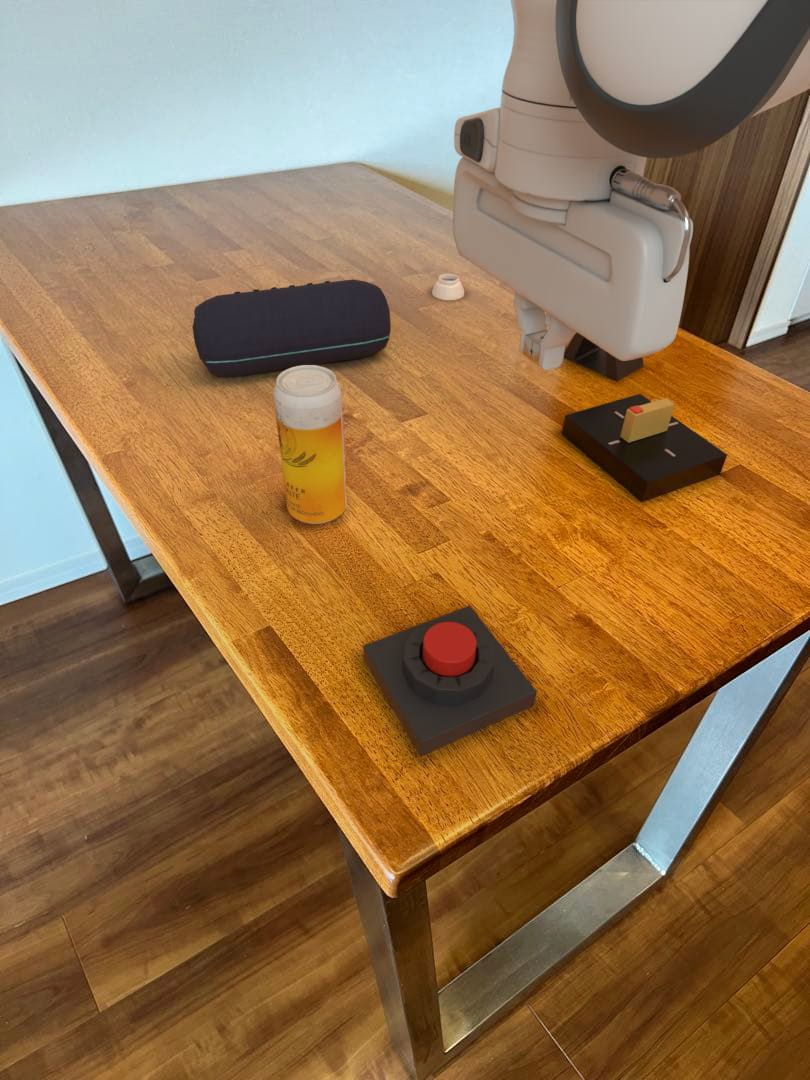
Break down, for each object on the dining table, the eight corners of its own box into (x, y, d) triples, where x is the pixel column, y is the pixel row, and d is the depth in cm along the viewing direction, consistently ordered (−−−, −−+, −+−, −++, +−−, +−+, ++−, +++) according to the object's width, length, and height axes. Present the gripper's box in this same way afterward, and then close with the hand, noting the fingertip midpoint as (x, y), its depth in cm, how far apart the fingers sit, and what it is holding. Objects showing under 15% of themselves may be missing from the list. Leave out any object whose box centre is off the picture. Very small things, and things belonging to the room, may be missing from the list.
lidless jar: (432, 302, 112) (464, 303, 112) (432, 283, 110) (465, 284, 110) (431, 289, 116) (463, 289, 116) (432, 270, 114) (464, 271, 114)
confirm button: (484, 665, 55) (486, 650, 54) (438, 684, 54) (439, 669, 53) (458, 629, 58) (459, 615, 57) (413, 647, 57) (414, 632, 56)
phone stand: (561, 359, 99) (576, 271, 91) (587, 345, 102) (604, 259, 94) (616, 384, 95) (637, 294, 87) (642, 369, 98) (665, 281, 90)
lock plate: (719, 477, 80) (728, 453, 78) (640, 505, 76) (648, 480, 74) (634, 415, 89) (640, 392, 87) (560, 437, 85) (565, 413, 83)
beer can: (281, 498, 76) (264, 368, 66) (337, 486, 78) (329, 358, 68) (296, 535, 72) (280, 402, 62) (355, 521, 73) (349, 390, 63)
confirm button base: (533, 708, 57) (540, 676, 54) (420, 759, 53) (422, 728, 51) (468, 622, 64) (471, 590, 61) (363, 662, 60) (362, 630, 57)
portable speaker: (375, 334, 104) (374, 264, 97) (396, 366, 97) (397, 294, 90) (196, 358, 98) (182, 286, 91) (205, 395, 91) (191, 319, 84)
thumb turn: (658, 424, 82) (667, 395, 79) (667, 431, 81) (676, 401, 78) (619, 436, 80) (627, 407, 77) (628, 443, 79) (636, 413, 77)
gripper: (744, 190, 38) (675, 420, 47) (519, 108, 51) (499, 299, 60) (650, 207, 35) (597, 445, 45) (441, 117, 49) (433, 314, 58)
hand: (539, 360), depth 52 cm, fingers closed
